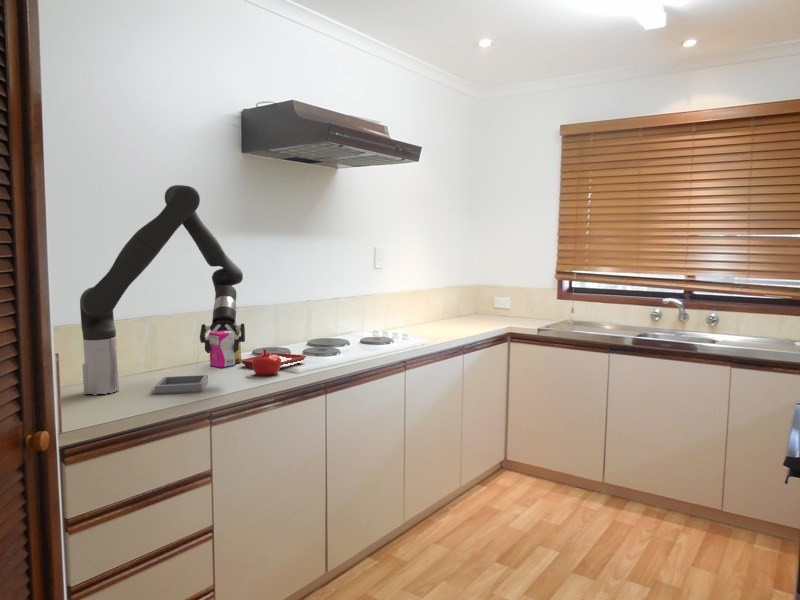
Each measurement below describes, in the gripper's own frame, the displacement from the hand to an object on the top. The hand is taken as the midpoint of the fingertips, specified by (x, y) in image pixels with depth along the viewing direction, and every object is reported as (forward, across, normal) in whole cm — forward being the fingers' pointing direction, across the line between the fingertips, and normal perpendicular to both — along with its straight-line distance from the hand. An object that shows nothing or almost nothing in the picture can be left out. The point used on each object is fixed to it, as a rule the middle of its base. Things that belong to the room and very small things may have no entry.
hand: (221, 351), depth 192 cm
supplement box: (+3, 0, +5) cm, 6 cm away
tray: (+7, -12, +9) cm, 17 cm away
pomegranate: (-3, +14, +20) cm, 24 cm away
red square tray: (-15, +16, +32) cm, 38 cm away
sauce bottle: (-21, 0, +37) cm, 43 cm away
